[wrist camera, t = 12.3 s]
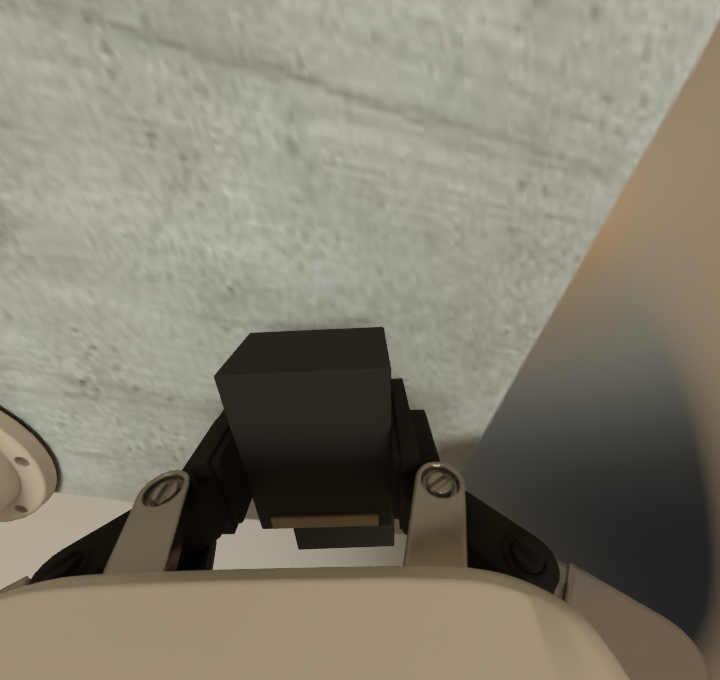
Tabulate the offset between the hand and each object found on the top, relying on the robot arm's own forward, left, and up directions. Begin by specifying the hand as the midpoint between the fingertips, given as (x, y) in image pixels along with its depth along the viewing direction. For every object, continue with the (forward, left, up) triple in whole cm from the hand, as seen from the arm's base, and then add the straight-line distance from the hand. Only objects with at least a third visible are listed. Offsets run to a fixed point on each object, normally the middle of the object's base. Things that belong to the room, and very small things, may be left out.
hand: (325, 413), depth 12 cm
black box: (0, 0, 0) cm, 0 cm away
